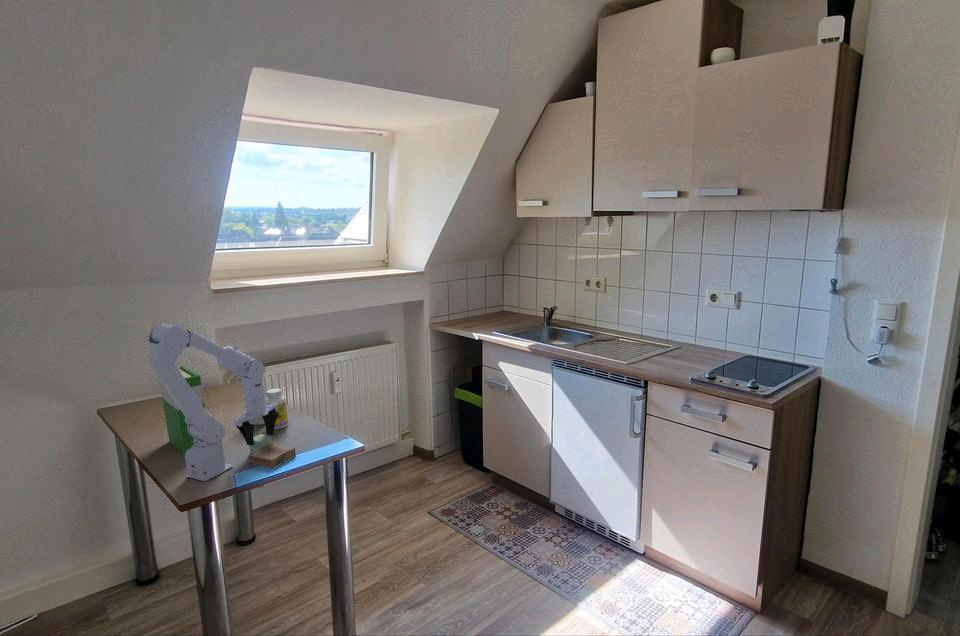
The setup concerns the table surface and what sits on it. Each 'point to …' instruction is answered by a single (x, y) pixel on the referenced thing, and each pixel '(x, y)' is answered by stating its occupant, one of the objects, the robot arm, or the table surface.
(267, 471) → the table surface
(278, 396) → the supplement bottle
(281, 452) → the walnut block
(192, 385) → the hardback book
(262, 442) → the sage cube
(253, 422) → the skincare box
